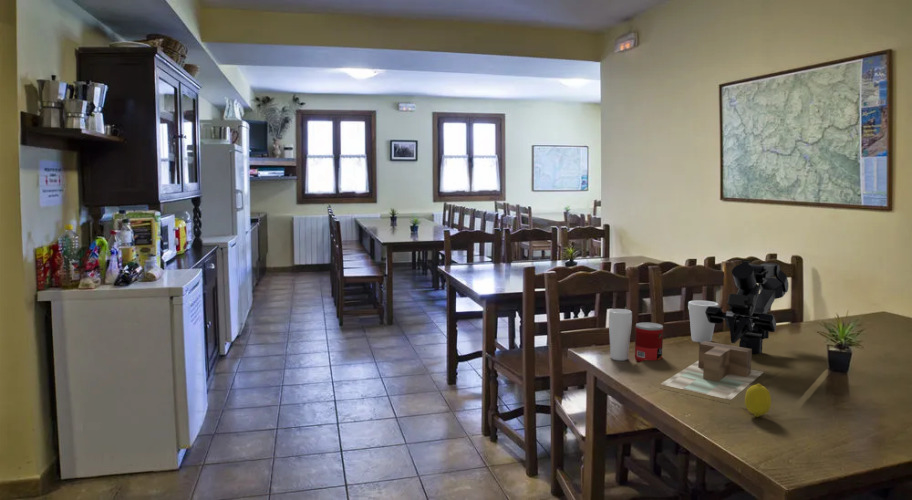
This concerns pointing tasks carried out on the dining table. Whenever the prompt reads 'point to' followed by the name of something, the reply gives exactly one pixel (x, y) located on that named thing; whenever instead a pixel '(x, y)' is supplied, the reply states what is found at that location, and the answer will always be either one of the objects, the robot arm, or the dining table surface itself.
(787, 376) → the dining table surface
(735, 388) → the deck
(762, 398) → the lemon
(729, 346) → the t block
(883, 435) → the dining table surface
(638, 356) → the canned food
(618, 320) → the light grey tumbler
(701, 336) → the foam cup
